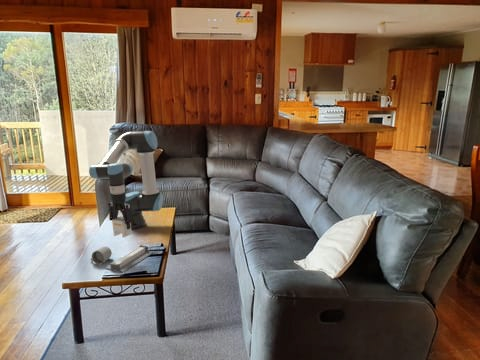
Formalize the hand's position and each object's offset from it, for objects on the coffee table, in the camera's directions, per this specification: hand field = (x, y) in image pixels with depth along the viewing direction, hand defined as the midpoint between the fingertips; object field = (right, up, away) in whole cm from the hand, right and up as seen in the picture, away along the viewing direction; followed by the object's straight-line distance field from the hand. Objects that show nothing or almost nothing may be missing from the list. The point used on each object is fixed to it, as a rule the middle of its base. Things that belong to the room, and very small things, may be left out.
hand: (122, 233), depth 188 cm
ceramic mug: (-12, -15, +1) cm, 20 cm away
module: (0, -1, 0) cm, 1 cm away
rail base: (+4, -14, 0) cm, 15 cm away
